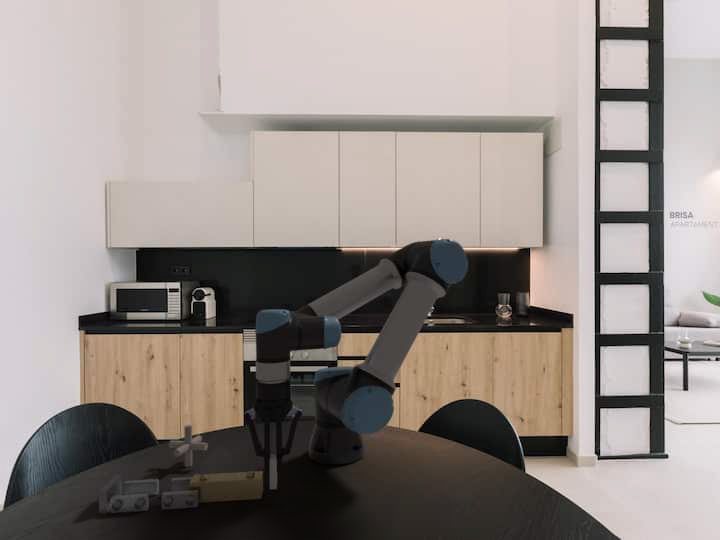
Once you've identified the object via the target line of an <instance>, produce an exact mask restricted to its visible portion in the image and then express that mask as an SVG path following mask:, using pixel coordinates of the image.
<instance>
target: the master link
mask: <svg viewBox="0 0 720 540" xmlns="http://www.w3.org/2000/svg"><path fill="white" fill-rule="evenodd" d="M192 477H193V478H192V479H191V481H190V483H189V491H191V490H198V503H211V502H212V503H213V502H228V501H243V500H244V501H245V500H261V499H262V496H263V492H264V471H263V470H262V471H260V470H259V471H254V470H253V471H252V470H250V471H242V472H239V471H238V472H221V473H218V472H217V473H201V474H200V473H199V474H193V476H192Z"/></svg>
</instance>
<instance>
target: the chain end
mask: <svg viewBox="0 0 720 540" xmlns="http://www.w3.org/2000/svg"><path fill="white" fill-rule="evenodd" d="M192 478H193V476H185V477H182V476H181V477H173V478H172V479H170V483H171V484H170V485H171V487H170V488H171V489H170V491H164V492H163V493H162V494H161V510H162V511H163V510H174V509H189V508H190V509H191V508H198V507H199V502H198V490H191V491H189V483H190V481H191V479H192Z"/></svg>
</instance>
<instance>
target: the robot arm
mask: <svg viewBox="0 0 720 540" xmlns="http://www.w3.org/2000/svg"><path fill="white" fill-rule="evenodd" d="M468 261H469V260H468V258H467V254H466V251H465V249H464V248H463V246H462V245H461V244H460V243H459V242H458V241H456V240H454V239H451V238H443V237H442V238H441V237H440V238H436V239H433V240H422V241H421V240H420V241H415V242H411V243H409V244H407V245H404V246H403V247H401V248H399V249H397V250H396V251H395V252H394V251H393V252H392V253H390V254H388V255H387V256H386V257H384V258H382V259H381V260H379V264H378V265H376V266H375V267H373V268H371V269H369V270H368V271H365V272H364V273H362V274H360V275H359V276H357V277H355V278H353V279H351V280H350V281H348V282H346V283H344V284H342V285H341V286H339V287H337V288H335V289H333V290H332V291H330V292H328V293H326V294H324V295H323V296H320V297H318V298H317V299H315V300H314V301H311V302H310V303H308V304H307V305H304V306H302V307H301V308H299V309H297V310H295V311H293V310H291V311H290V310H288V309H284V308H283V309H282V308H281V309H279V308H278V309H262V310H259V311H258V312H257V314H256V318H255V319H256V320H255V330H254V334H255V354H256V355H255V379H256V380H257V381H256V382H255V401H254V403H253V407H252V408H250V409H249V410H245V412H244V414H243V418H244V420H245V421H246V423H247V425H248V427H249V432H250V436H251V440H252V443H253V444H252V445H253V449H254V453H255V455H256V456H257V457H261V458H263V459H264V473H265V474H266V473H269V490H277V487H278V473H280V472H281V473H282V470H283V457H284V456H286V455H287V456H288V455H289V454H291V450H292V446H293V441H294V437H295V433H296V430H297V425H298V422H299V420H300V418H302V415H303V410H302V408H301V407H297V406H295V405H293V403H294V402H293V400H292V399H291V380H290V377H291V352H297V351H310V350H326V349H330V348H335V347H338V346H339V344H340V343H341V339H342V326H341V323H340V320H341V319H342V318H343V317H346V316H348V315H349V314H350V313H352V312H354V311H356V310H357V309H359V308H360V307H362V306H364V305H366V304H368V303H370V302H371V301H372V300H375V298H377V297H379V296H381V295H383V294H385V293H386V292H388V291H390V290H391V289H393V290H394V289H395V290H398V289H400V288H402V287H404V286H405V287H404V289H403V291H402V292H401V294H400V297H398V300H397V301H396V303H395V305H394V307H393V308H392V311H391V312H390V314H389V316H388V318H387V319H386V321H385V324H384V325H383V327H382V329H381V330H380V332H379V333H378V336H377V337H376V339H375V341H374V343H373V346H372V347H371V349H370V351H369V352H368V354H367V355H366V357H365V359H364V360H363V362H362V363H358V364H355V365H354V366H334V367H332V366H331V367H325V368H320V369H317V370H316V371H315V373H314V381H313V384H314V428H313V431H312V435H311V437H310V441H309V444H308V457H309V459H311V460H313V462H315V463H316V462H317V463H320V464H325V465H346V464H351V463H354V462H357V461H359V460H361V459H362V458H364V456H365V454H366V444H365V441H364V438H363V435H365V436H366V435H367V436H369V435H373V434H375V433H379V432H380V431H382V430H384V429H385V427H386V426H387V425H388V424H389V422H390V421H391V420H392V417H393V415H394V412H395V407H394V400H393V399H394V398H393V395H394V394H395V392H396V390H397V388H396V385H395V384H396V383H395V379H396V377H397V374H398V372H399V371H400V369H401V367H402V365H403V363H404V361H405V360H406V358H407V356H408V355H409V354H408V353H409V351H410V350H411V349H412V346H413V344H414V343H415V340H416V338H417V337H418V335H419V333H420V331H421V329H422V327H423V326H424V323H425V322H426V320H427V318H428V316H429V314H430V312H431V311H432V308H433V307H434V305H435V303H436V301H437V299H439V298H444V297H445V296H446V294H447V293H448V291H449V288H450V287H451V285H453V284H457V283H459V282H461V281H462V280H463V279H464V278H465V276H466V275H467V272H468V269H469V262H468ZM290 412H291V413H290ZM289 413H290V416H291V422H290V425H289V429H288V435H287V439H286V443H285V446H284V447H283V421H284V420H285V419H286V417H288V414H289ZM257 415H258V417H259V418H260V420H261V421H263V428H264V430H263V431H264V432H263V434H264V436H263V437H264V438H263V441H264V442H263V445H264V446H262V442H261V438H260V434H259V430H258V426H257V421H256V416H257ZM271 423H275V429H276V430H275V432H276V436H275V439H276V440H275V443H276V444H275V445H276V449H275V451H276V453H275V454H271V453H272V452H271V451H272V450H271V449H272V447H271V444H272V443H271V438H272V437H271V436H272V435H271V434H272V433H271V432H272V429H271V427H272V425H271Z"/></svg>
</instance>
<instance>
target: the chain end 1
mask: <svg viewBox="0 0 720 540" xmlns="http://www.w3.org/2000/svg"><path fill="white" fill-rule="evenodd" d="M159 492H160V481H159V478H154V479H153V478H152V479H151V478H150V479H138V480H137V479H136V480H127V481H126V480H125V481H124V482H123V474H114V475H113V476H112V477H111V478H110V480H108V482H107V483H105V484H104V486H103V487H102V488H101V489H100V490H99V491H98V514H99V515H103V514H105V513H106V514H108V511H109V512H110V514H119V512H121V513H131V512H132V511H133V512H145V511H148V510H149V508H150V507H149V506H150V503H149V502H150V501H149V499H150V498H149V497H150V496H158V494H159ZM133 512H132V513H133ZM106 514H105V515H106Z"/></svg>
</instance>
